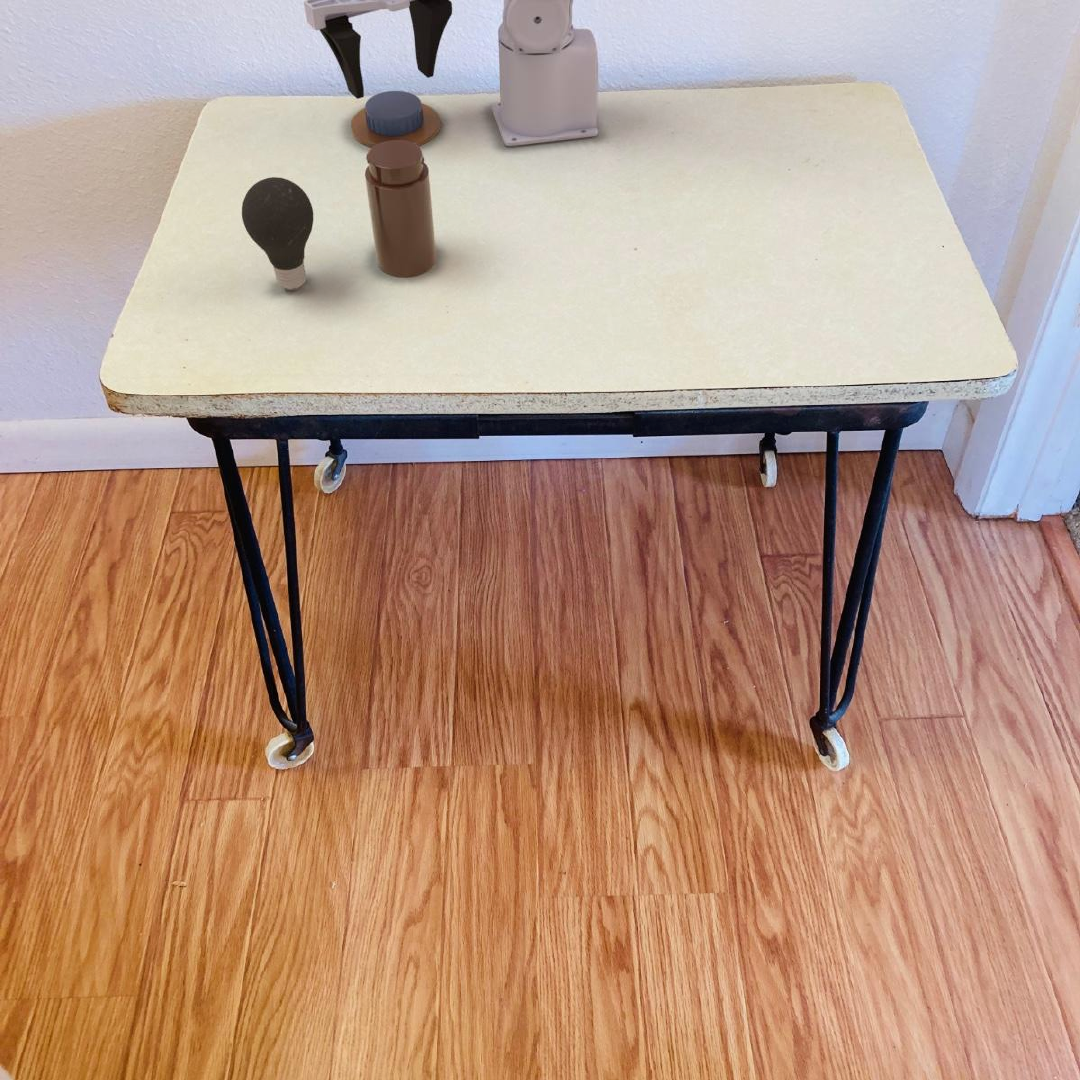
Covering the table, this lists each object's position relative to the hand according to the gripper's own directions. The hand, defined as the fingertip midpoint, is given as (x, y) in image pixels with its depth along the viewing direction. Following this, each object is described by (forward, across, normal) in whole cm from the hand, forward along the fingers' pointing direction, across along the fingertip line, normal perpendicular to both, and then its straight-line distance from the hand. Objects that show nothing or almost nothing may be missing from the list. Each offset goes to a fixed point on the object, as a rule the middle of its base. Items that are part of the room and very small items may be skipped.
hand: (391, 83), depth 106 cm
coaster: (+5, 0, 0) cm, 5 cm away
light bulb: (+5, -20, -19) cm, 28 cm away
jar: (+5, -10, -21) cm, 23 cm away
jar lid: (+3, 0, 0) cm, 3 cm away
